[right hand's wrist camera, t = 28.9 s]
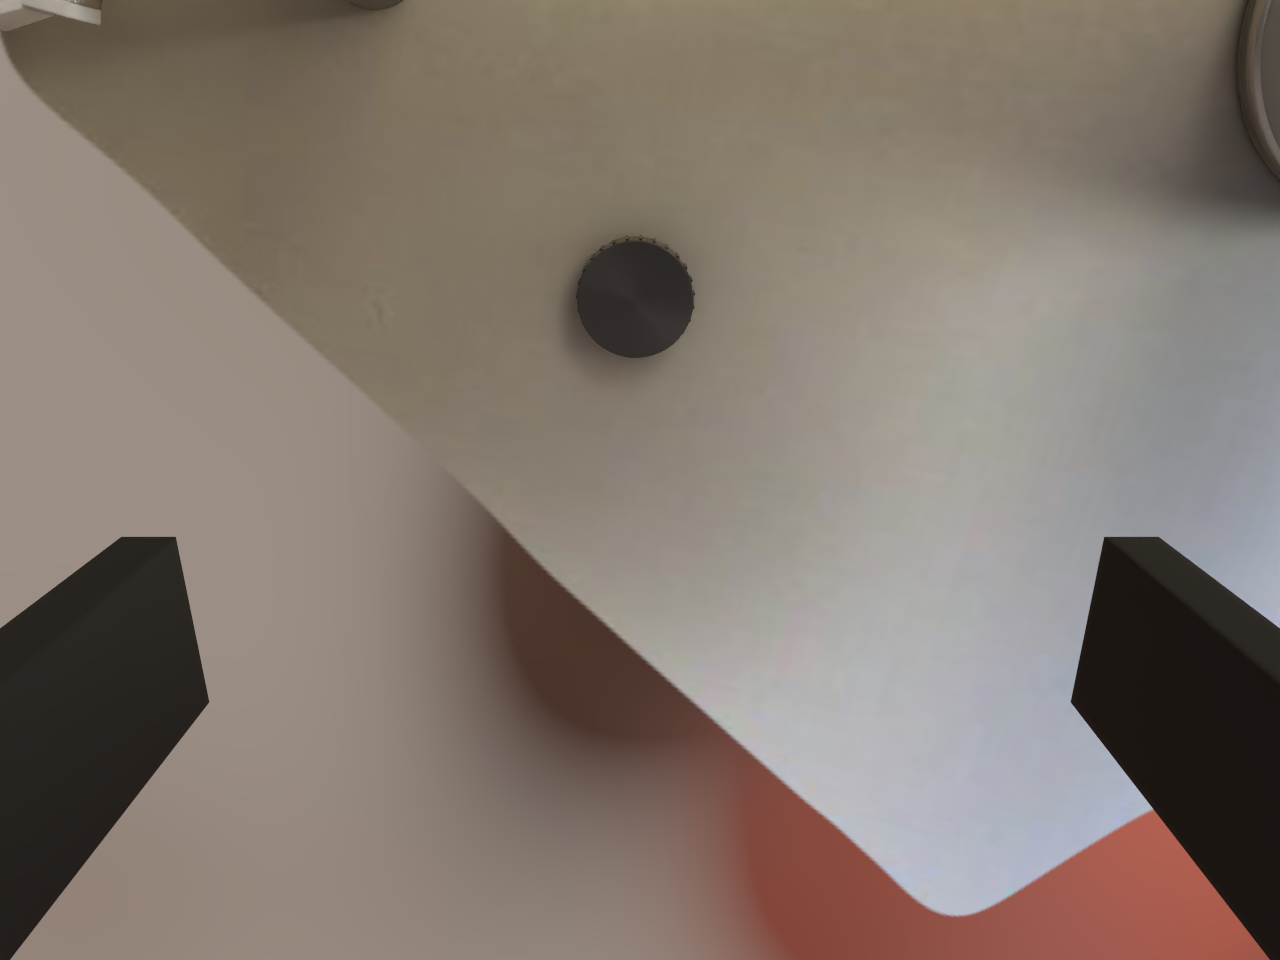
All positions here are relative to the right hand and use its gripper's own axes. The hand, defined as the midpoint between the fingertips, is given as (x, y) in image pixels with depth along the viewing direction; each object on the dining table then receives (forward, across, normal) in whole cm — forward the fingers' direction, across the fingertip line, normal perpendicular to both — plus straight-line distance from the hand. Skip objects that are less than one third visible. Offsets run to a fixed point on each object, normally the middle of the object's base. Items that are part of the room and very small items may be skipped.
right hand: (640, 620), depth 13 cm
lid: (+29, 0, 0) cm, 29 cm away
